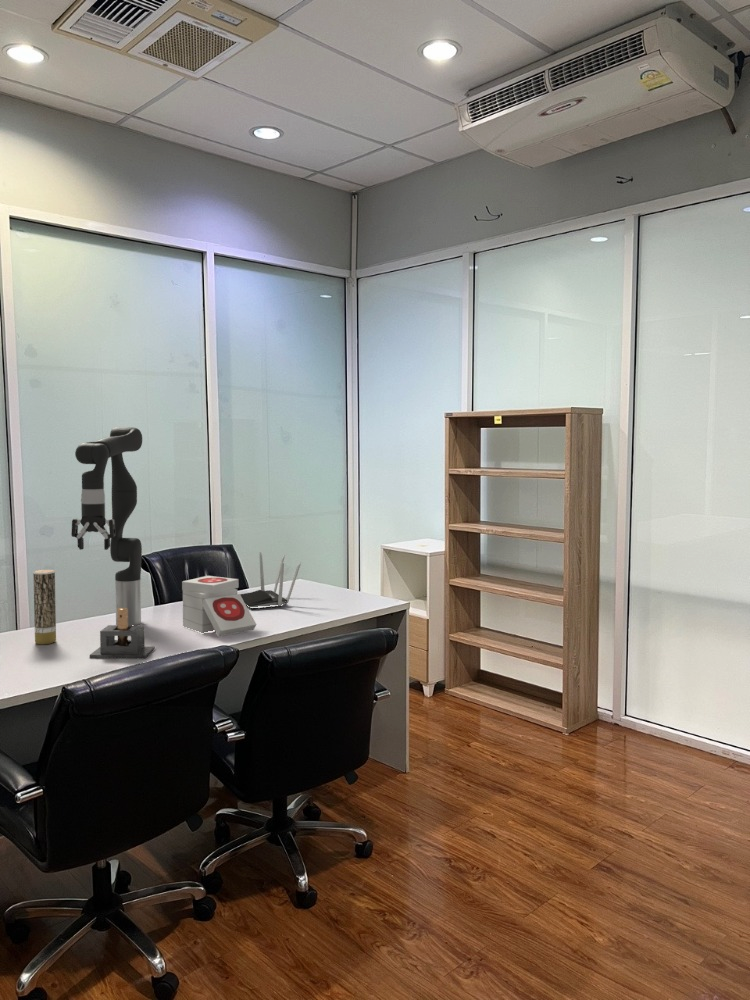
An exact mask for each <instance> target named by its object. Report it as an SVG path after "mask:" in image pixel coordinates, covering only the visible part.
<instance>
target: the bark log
mask: <svg viewBox="0 0 750 1000" xmlns="http://www.w3.org/2000/svg"><path fill="white" fill-rule="evenodd" d="M32 573H33V575H32V576H33V610H34V611H33V612H34V613H33V614H34V618H33V619H34V622H33V623H34V642H35V644H37V645H50V644H54V643H56V641H57V614H56V606H57V605H56V572H55V569H39V570H38V569H37V570H34V571H33V572H32ZM53 642H54V643H53Z"/></svg>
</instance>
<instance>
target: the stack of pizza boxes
mask: <svg viewBox="0 0 750 1000" xmlns="http://www.w3.org/2000/svg"><path fill="white" fill-rule="evenodd" d="M239 584H240V583H239V578H230V577H223V576H222V577H221V576H215V575H214V576H213V575H204V576H200V577H196V578H193V579H188V580H183V581H181V591H182V627H183V626H184V627H183V628H185V627H187V628H186V629H188V628H190V629H193V630H196V631H199V632H201V633H204V632H208V631H213V630H215V631H216V632H215V634H216V635H217V637H223V636H227V635H228V636H229V635H234V634H238V633H245V632H251V631H254V630H255V628H256V627H257V623H256V621H255V620H254V617H253V616H252V614H251V612H250V610H249V607H247V606H246V604H245V603H244V601H243V599H242V597H241V595H240V594H241V593H238V588H239ZM190 629H189V630H190ZM193 630H192V631H193Z"/></svg>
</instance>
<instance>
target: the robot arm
mask: <svg viewBox="0 0 750 1000" xmlns="http://www.w3.org/2000/svg"><path fill="white" fill-rule="evenodd" d="M142 446H143V435H142V431H141V430H140V429H139V428H137V427H132V426H131V427H130V426H128V427H127V426H124V427H123V426H117V427H116V426H115V427H112V428H111V430H110V433H109V437H108V436H107V437H104V438H101V439H98V440H96V441H87V442H83V443H80V444H79V445H78V446H77V447H76V449H75V458H76V461H78V463H80V464H83V465H95V466H94V468H92V469H93V470H88V471H84V472H82V474H81V496H80V503H81V504H80V505H81V508H80V509H81V510H80V511H81V518H80V519H78V518H73V519H72V520H71V533H70V534H71V537H73V538H75V539H76V540H77V548H78V549H79V550H80V551H81V550H84V546H85V544H84V543H85V542H84V541H85V540H84V536H85V535H86V533H91V532H94V533H100V534H101V535H102V537H103V538H104V539H103V540H104V541H103V543H104V544H103V545H104V546H103V547H104V551H105V550H106V551H107V550H109V549H110V550H109V551H110V558H111V560H112V561H113V562H117V563H129V565H128V567H126V568H124V569H122V570H119V571H117V572H116V573H115V577H114V581H115V585H114V586H115V625H118V622H117V609H118V608H127V609H128V625H130V626H132V625H134V626H138V625H141V624H142V592H141V591H142V590H141V589H142V588H141V587H142V586H141V585H142V584H141V583H142V582H141V578H142V577H141V574H142V553H143V550H142V549H143V547H142V545H143V544H142V542H141V540H140V539H139V538H137V537H123V536H124V535H123V532H124V528H125V525H126V524H127V521H128V519H129V518H130V516H131V515H132V514H133V512H134V510H135V508H136V506H137V504H138V487H137V484H136V483H137V482H136V481H135V479H134V477H132V474H131V473H130V472H129V470H128V468H127V465H125V461H124V458H123V457H124V456H123V453H127V452H131V453H132V452H138V451H139V450H140V449H141V448H142ZM109 459H110V460H111V461H110V462H111V519H106V501H105V500H106V495H105V489H104V488H105V486H104V485H105V483H104V482H105V480H104V479H105V472H106V467H107V465H108V460H109ZM80 524H81V525H82V528H81V529H80V531H79V526H80ZM105 525H107V526H108V527H109V532H108V530H107V528H106V527H105ZM78 531H79V532H78ZM137 624H138V625H137Z"/></svg>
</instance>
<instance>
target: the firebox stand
mask: <svg viewBox="0 0 750 1000" xmlns="http://www.w3.org/2000/svg"><path fill="white" fill-rule="evenodd" d="M99 636H100V637H99V638H100V639H99V640H100V641H99V644H100V645H99V647H98V648H97V649H96V650H94V651H93V652H92V653H90V654H89V659H137V658H139V659H141V660H143V659H147V658H148V657H149V656H150V655H151V654H152V653H153V652H154V651H155V650H154V649H156V646H152V645H151V646H147V645H145V625H134V626H130V625H128V630H118V625H116V624H114V625H112V624H111V625H109V624H108V625H107V626H105V627H104V628H103V629H101V630H100V631H99ZM118 636H128V637H130V639H128V645H118V639H115V638H116V637H118ZM153 650H154V651H153ZM152 651H153V652H152ZM151 652H152V653H151ZM150 653H151V654H150ZM149 654H150V655H149Z"/></svg>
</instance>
